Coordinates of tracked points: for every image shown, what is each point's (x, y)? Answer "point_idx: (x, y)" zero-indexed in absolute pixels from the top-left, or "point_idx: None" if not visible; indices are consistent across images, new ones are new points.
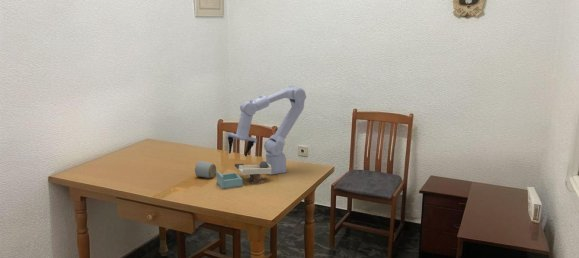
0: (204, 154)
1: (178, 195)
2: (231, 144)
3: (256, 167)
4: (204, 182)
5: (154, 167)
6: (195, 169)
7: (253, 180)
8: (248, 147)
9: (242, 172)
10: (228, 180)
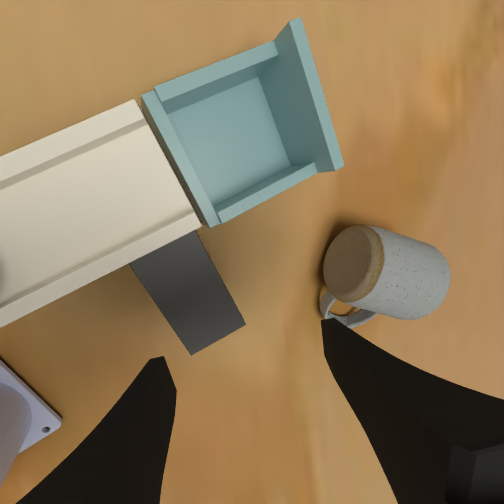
0: (374, 498)
1: (438, 4)
2: (400, 384)
3: (39, 286)
4: (352, 185)
5: (498, 328)
6: (427, 243)
7: None
8: (93, 465)
9: (145, 119)
10: (241, 54)
